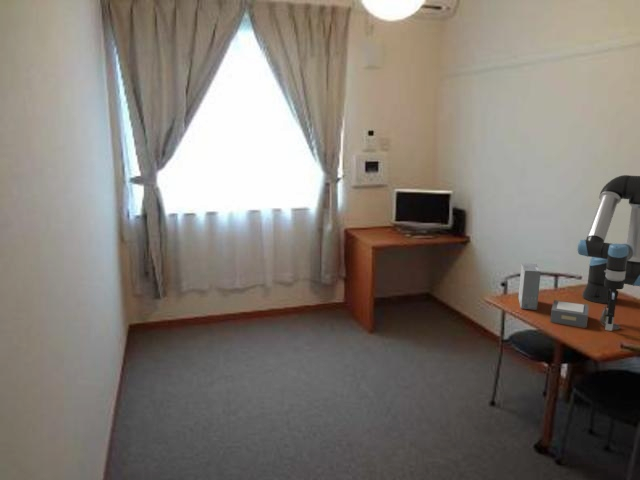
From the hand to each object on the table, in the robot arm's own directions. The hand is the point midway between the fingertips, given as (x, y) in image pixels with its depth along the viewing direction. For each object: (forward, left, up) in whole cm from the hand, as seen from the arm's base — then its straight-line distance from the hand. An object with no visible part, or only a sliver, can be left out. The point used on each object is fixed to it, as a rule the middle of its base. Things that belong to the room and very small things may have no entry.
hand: (608, 326), depth 228 cm
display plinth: (+12, -11, 0) cm, 16 cm away
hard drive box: (+20, -33, 0) cm, 39 cm away
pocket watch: (0, 0, 0) cm, 0 cm away
